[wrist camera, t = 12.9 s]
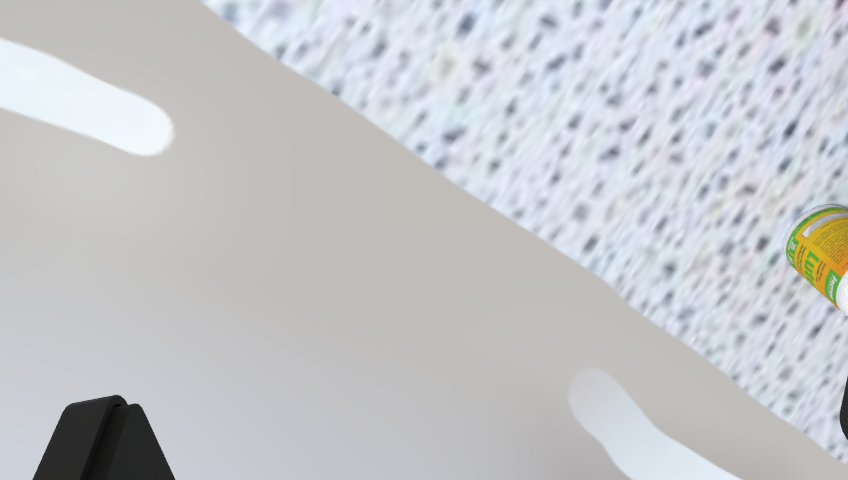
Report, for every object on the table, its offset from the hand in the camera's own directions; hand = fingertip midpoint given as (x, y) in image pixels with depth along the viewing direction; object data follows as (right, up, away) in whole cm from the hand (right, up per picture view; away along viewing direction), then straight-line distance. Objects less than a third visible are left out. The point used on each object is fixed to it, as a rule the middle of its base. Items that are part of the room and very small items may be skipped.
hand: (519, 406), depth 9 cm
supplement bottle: (+27, +3, +43) cm, 51 cm away
